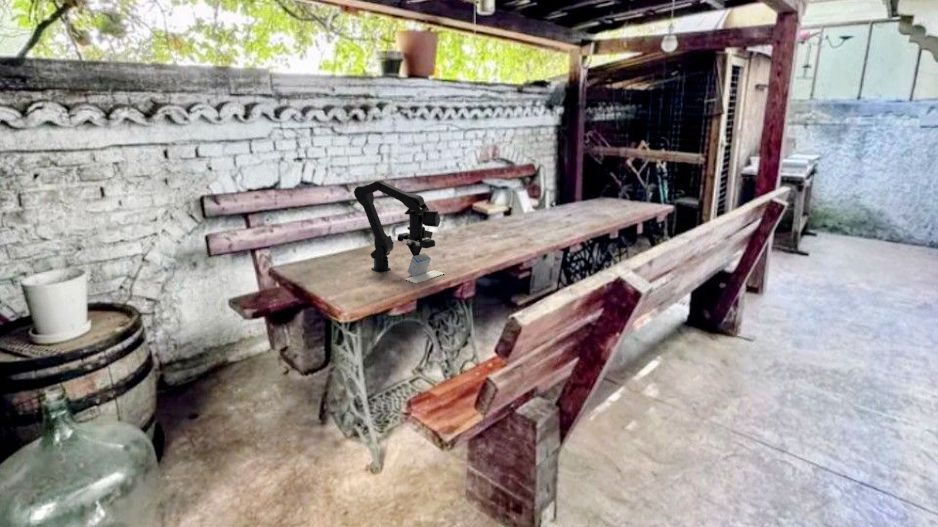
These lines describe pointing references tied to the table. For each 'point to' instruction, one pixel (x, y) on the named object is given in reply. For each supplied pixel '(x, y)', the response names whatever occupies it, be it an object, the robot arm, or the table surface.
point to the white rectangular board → (424, 276)
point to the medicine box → (419, 264)
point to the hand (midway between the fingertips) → (416, 259)
